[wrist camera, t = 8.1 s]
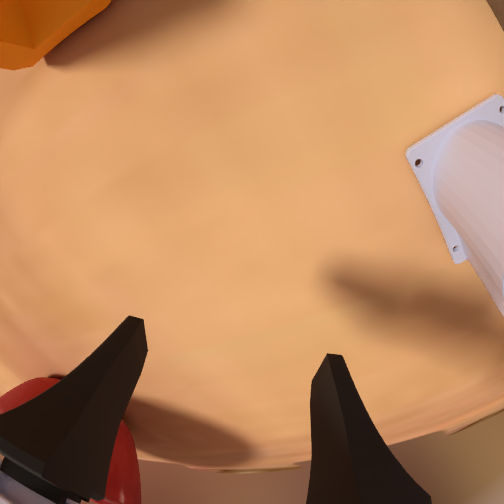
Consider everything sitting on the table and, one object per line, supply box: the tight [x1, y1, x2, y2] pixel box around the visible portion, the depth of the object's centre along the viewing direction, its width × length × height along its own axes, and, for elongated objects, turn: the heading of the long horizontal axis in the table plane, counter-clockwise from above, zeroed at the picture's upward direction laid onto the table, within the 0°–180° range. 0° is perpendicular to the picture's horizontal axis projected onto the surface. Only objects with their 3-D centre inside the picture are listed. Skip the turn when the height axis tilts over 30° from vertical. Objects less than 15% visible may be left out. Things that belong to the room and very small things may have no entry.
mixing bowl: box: [0, 377, 141, 504], centre depth 34 cm, size 28×28×15 cm
